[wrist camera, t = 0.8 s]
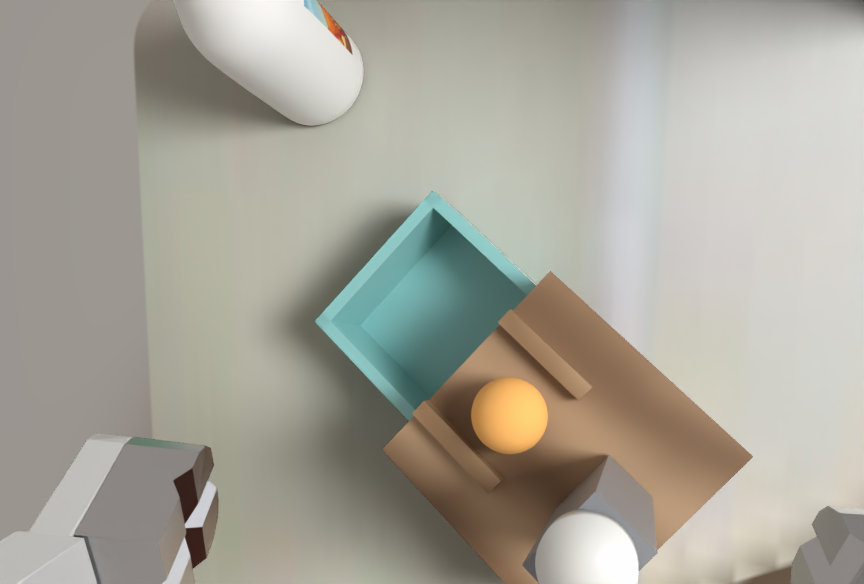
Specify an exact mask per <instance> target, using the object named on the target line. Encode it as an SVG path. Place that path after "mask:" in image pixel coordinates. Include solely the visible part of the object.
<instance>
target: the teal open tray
mask: <svg viewBox="0 0 864 584" xmlns="http://www.w3.org/2000/svg"><path fill="white" fill-rule="evenodd" d="M536 286H537V284H536V283H535V282H534V281H533V280H531V279H530V278H529V277H528V276H527V275H526V274H525V273H524V272H523V271H522V270H521V269H520V268H519V267H517V266H516V265H515V264H514V263H513V262H512V261H511V260H510V259H509V258H508V257H507V256H506V255H505V254H503V253H502V252H501V251H500V250H499V249H498V248H497V247H496V246H495V245H494V244H493V243H492V242H490V241H489V240H488V239H487V238H486V237H485V236H484V235H483V234H482V233H481V232H480V231H479V230H478V229H476V228H475V227H474V226H473V225H472V224H471V223H470V222H469V221H468V220H467V219H466V218H465V217H464V216H462V215H461V214H460V213H459V212H458V211H457V210H456V209H455V208H454V207H453V206H451V205H450V204H449V203H448V202H447V201H445V200H444V199H443V198H442V197H441V196H439V195H438V194H437V193H436V192H435V191H432V192H431V193H430V194H429V195H428V196H427V197H426V198H425V199H424V201H423V202H422V203H421V204H420V205H419V206H418V207H417V208H416V209H415V211H414V212H413V213H412V214H411V215H410V216H409V217H408V218H407V219H406V221H405V222H404V223H403V224H402V225H401V226H400V227H399V228H398V229H397V231H396V232H395V233H394V234H393V235H392V236H391V237H390V238H389V239H388V241H387V242H386V243H385V244H384V245H383V246H382V247H381V248H380V249H379V251H378V252H377V253H376V254H375V255H374V256H373V257H372V258H371V259H370V261H369V262H368V263H367V264H366V265H365V266H364V267H363V268H362V269H361V271H360V272H359V273H358V274H357V275H356V276H355V277H354V278H353V279H352V281H351V282H350V283H349V284H348V285H347V286H346V287H345V288H344V289H343V291H342V292H341V293H340V294H339V295H338V296H337V297H336V298H335V299H334V300H333V302H332V303H331V304H330V305H329V306H328V307H327V308H326V309H325V310H324V312H323V313H322V314H321V315H320V316H319V317H318V318H317V319H316V320H315V322H316V324H317V325H318V326H319V327H320V328H321V329H322V330H323V331H324V332H325V333H326V334H327V335H328V336H329V337H330V338H331V339H332V340H333V342H334V343H335V344H336V345H337V346H338V347H339V348H340V349H341V350H342V351H343V352H344V353H345V354H346V355H347V356H348V357H349V358H350V360H351V361H352V362H353V363H354V364H355V365H356V366H357V367H358V368H359V369H360V370H361V371H362V372H363V373H364V374H365V375H366V376H367V378H368V379H369V380H370V381H371V382H372V383H373V384H374V385H375V386H376V387H377V388H378V389H379V390H380V391H381V392H382V393H383V394H384V396H385V397H386V398H387V399H388V400H389V401H390V402H391V403H392V404H393V405H394V406H395V407H396V408H397V409H398V410H399V411H400V412H401V414H402V415H403V416H404V417H405V418H406V419H407V420H408V421H410V419H411V418H412V417H413V416H414V415H413V414H412V413H413V412H414V411H415V410H416V409H417V408H418V407H419V405H420V404H421V403H422V402H423V401H426V400H429V399H430V398H431V397H432V396H433V395H434V394H435V393H436V392H437V391H438V390H439V389H440V388H441V387H442V385H443V384H444V383H445V382H446V381H447V380H448V379H449V378H450V377H451V376H452V375H453V374H454V373H455V372H456V371H457V370H458V368H459V367H460V366H461V365H462V364H463V363H464V362H465V361H466V360H467V359H468V358H469V357H470V356H471V355H472V354H473V353H474V352H475V350H476V349H477V348H478V347H479V346H480V345H481V344H482V343H483V342H484V341H485V340H486V339H487V338H488V337H489V336H490V335H491V333H492V332H493V331H494V330H495V329H496V328H497V327H498V326H499V325H500V324H499V323H498V322H499V320H500V319H501V318H502V317H503V316H504V315H505V314H506V313H507V312H508V311H509V310H510V309H511V310H514V309H515V308H516V307H517V306H518V305H519V304H520V303H521V302H522V301H523V299H524V298H525V297H526V296H527V295H528V294H529V293H530V292H531V291H532V290H533V289H534V288H535V287H536Z"/></svg>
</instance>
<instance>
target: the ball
mask: <svg viewBox="0 0 864 584" xmlns="http://www.w3.org/2000/svg"><path fill="white" fill-rule="evenodd" d="M471 420H472V425H473V428H474V431H475V433H476V435H477V436H478V438H479V439H480V440H481V441H482V443H484V444H485V445H486V446H487V447H489V448H490V449H492V450H494V451H496V452H499V453H503V454H517V453H521V452H524V451H527V450H529V449H530V448H532V447H533V446H534V445H535V444H537V443H538V441H539V440H540V439H541V437H542V436H543V434H544V432H545V430H546V426H547V421H548V411H547V406H546V403H545V400H544V398H543V396H542V395H541V393H540V392H539V391H538V390H537V389H536V388H535V387H534V386H533V385H532V384H530V383H529V382H527V381H525V380H522V379H519V378H515V377H503V378H498V379H496V380H493V381H491V382H489V383H488V384H486V385H485V386H484V387H483V388H482V389H481V390H480V391H479V392H478V394H477V395H476V397H475V399H474V402H473V405H472V410H471Z"/></svg>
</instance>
